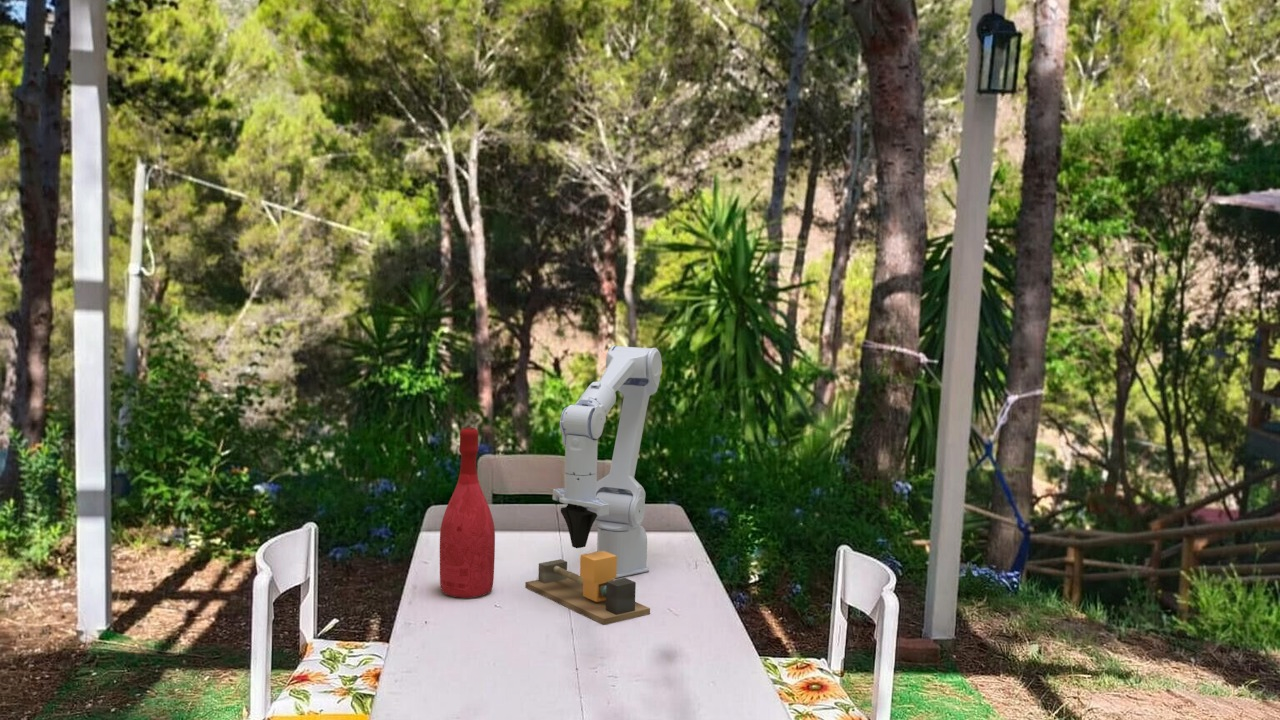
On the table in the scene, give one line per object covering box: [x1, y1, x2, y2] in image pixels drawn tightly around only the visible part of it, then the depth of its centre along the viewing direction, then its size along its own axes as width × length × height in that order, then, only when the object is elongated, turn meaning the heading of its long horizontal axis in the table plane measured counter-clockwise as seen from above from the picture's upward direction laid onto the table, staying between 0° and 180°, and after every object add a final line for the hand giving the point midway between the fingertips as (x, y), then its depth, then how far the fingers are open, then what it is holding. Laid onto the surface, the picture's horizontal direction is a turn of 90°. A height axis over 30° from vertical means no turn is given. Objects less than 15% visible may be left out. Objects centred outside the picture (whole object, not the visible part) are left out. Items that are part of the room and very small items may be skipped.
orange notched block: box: [579, 551, 617, 602], centre depth 196 cm, size 4×5×8 cm
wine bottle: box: [439, 427, 496, 599], centre depth 201 cm, size 10×10×30 cm
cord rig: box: [525, 558, 651, 626], centre depth 199 cm, size 24×10×6 cm, turn 39°
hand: (578, 546), depth 201 cm, fingers closed
